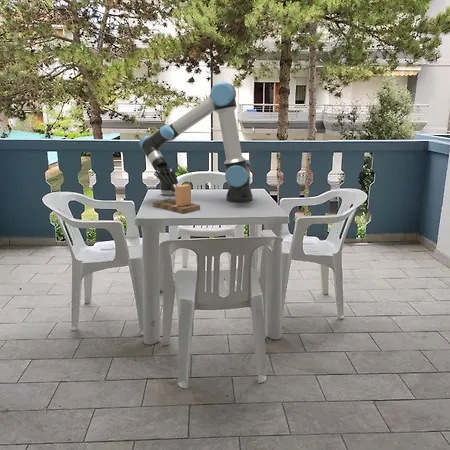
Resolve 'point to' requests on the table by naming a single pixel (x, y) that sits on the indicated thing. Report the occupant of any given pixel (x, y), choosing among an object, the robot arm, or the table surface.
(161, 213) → the table surface
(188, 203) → the fader knob
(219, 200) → the table surface
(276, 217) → the table surface
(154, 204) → the fader board
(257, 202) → the table surface
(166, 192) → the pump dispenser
